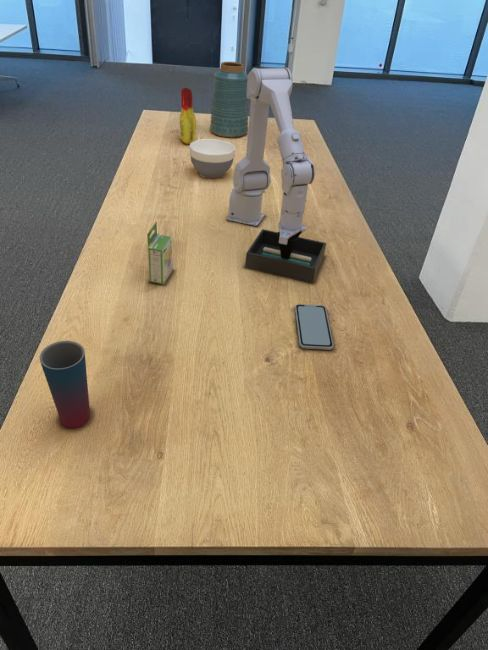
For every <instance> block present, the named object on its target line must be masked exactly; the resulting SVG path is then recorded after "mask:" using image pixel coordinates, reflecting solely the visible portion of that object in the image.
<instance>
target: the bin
mask: <svg viewBox="0 0 488 650" xmlns="http://www.w3.org/2000/svg"><path fill="white" fill-rule="evenodd" d="M278 232H279V231H274V230H270V229H269V230H268V229H264V228H262V229H261V230H260V232H259V233H258V235H257V236H256V237H255V239H254V241H253V242H252V243H251V245H250V247H249V248H248V249H247V251H246V255H245V266H244V267H245V268H246V269H250V270H255V271H257V272H263V273H266V274H271V275H275V276H280V277H283V278H288V279H293V280H296V281H301V282H305V283H310V284H313V283H314V282H315V279H316V277H317V274H318V272H319V269H320V267H321V265H322V263H323V260H324V257H325V252H326V247H327V242H324V241H319V240H315V239H310V238H305V237H300V236H299V238H298V240H297V242H296V243H295V246H294V249H293V252H292V253H294V254H298V255H303V256H307V257H311V259H312V260H311V264H310V266H307V265H303V264H299V263H294V262H290V261H286V260H281V259H277V258H272V257H268V256H264V255H262V253H263V248H264V247H267V248H272V249H276V250H280V246H279V242H278V240H277V238H276V234H277V233H278Z"/></svg>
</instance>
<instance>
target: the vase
mask: <svg viewBox="0 0 488 650" xmlns="http://www.w3.org/2000/svg"><path fill="white" fill-rule="evenodd" d="M219 66H220V68H219V70H217V71H215V72H214V74H213V75H214V78H213V88H212V89H213V90H212V98H211V99H212V103H211V109H210V110H211V111H210V121H209V123H210V124H209V130H210V131H211V133H212V134H214V135H215V136H219V137H222V138H229V139H230V138H231V139H232V138H233V139H234V138H240V137H243V136H245V135H247V134H248V128H249V98H247V81H248V74H247V73H246V72H245V71H244V64H243V63H241V62H237V61H222V62H221V63H220V65H219Z"/></svg>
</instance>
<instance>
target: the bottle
mask: <svg viewBox="0 0 488 650" xmlns="http://www.w3.org/2000/svg"><path fill="white" fill-rule="evenodd" d="M180 94H181V95H180V96H181V97H180V99H181V100H180V101H181V103H180V104H181V112H180V114H179V129H180V130H179V131H180V132H179V133H180V139H181V141H182V143H184V144H185V145H190V144H191V143H192V142H194V141H196V140H197V139H196V138H197V137H196V135H197V118H196V115H195V113H194V104H193V103H194V102H193V101H194V100H193V92H192V89H190V88H188V87H182V88H181V91H180Z"/></svg>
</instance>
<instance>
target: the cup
mask: <svg viewBox="0 0 488 650" xmlns="http://www.w3.org/2000/svg"><path fill="white" fill-rule="evenodd" d="M39 362H40V365H41V368H42V371H43V374H44V376H45V379H46V382H47V386H48V389H49V391H50V394H51V398H52V400H53V403H54V406H55V409H56V412H57V414H58V417H59V421H60V423H61V424H62V426H63V427H64V428H68V429H78V428H81V427H83V426H85V425H86V424H87V423H89V421H90V419H91V410H90V409H91V408H90V397H89V384H88V374H87V363H86V362H87V361H86V351H85V348H84V347H83V346H82V344H81V343H79V342H77V341H73V340H59V341H55V342H53V343H50V344H49V345H47V346H45V347H44V349H42V351H40V354H39Z"/></svg>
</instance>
